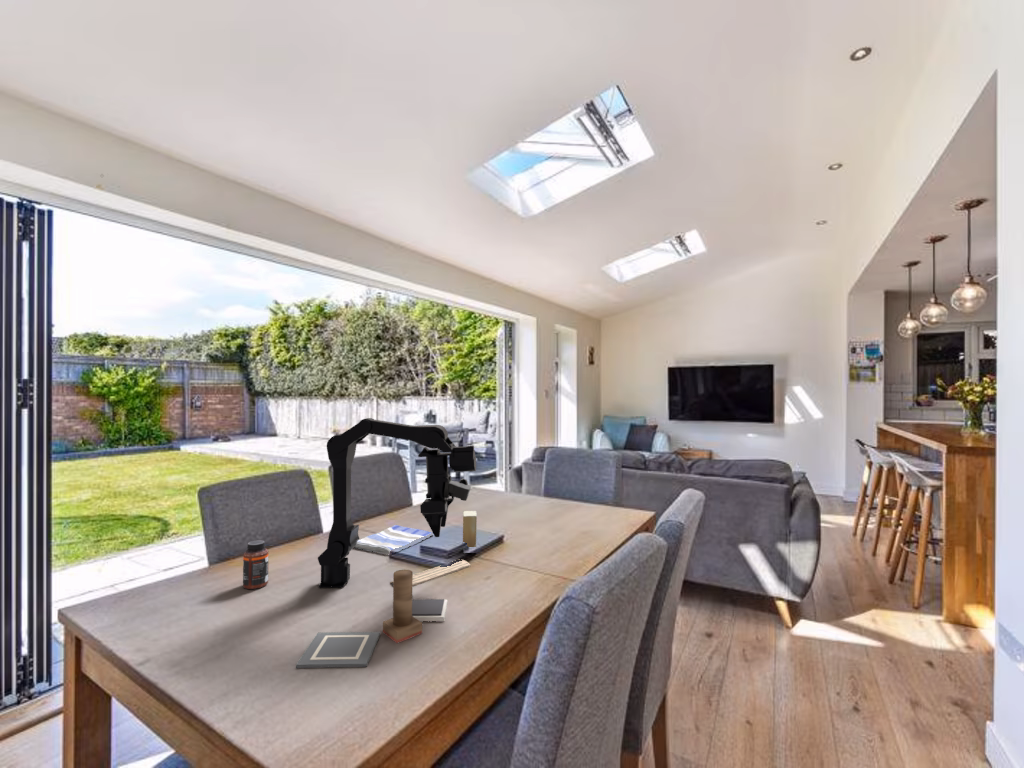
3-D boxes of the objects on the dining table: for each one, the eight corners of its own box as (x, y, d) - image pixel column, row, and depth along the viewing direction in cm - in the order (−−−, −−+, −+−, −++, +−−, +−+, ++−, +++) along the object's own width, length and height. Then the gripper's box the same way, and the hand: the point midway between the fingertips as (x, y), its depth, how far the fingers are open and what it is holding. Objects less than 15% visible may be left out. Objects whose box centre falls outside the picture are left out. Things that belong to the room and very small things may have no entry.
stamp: (382, 632, 106) (383, 572, 106) (407, 623, 110) (408, 565, 110) (397, 643, 101) (397, 580, 101) (421, 633, 105) (422, 573, 105)
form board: (296, 667, 92) (296, 664, 92) (318, 635, 104) (318, 632, 104) (366, 666, 93) (366, 663, 93) (380, 634, 104) (380, 631, 104)
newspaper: (402, 592, 127) (402, 585, 127) (387, 585, 132) (387, 578, 132) (470, 568, 145) (470, 562, 145) (455, 562, 149) (455, 556, 149)
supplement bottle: (273, 583, 130) (274, 540, 131) (253, 591, 125) (253, 547, 125) (257, 579, 133) (258, 537, 133) (237, 587, 128) (238, 543, 128)
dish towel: (348, 549, 160) (348, 540, 160) (396, 530, 181) (396, 523, 181) (389, 558, 152) (389, 549, 152) (435, 537, 173) (435, 529, 173)
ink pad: (403, 621, 110) (403, 615, 110) (410, 604, 119) (410, 598, 119) (444, 621, 111) (444, 615, 111) (447, 603, 120) (447, 597, 120)
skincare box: (462, 547, 161) (463, 510, 161) (476, 547, 161) (476, 510, 161) (462, 554, 154) (462, 515, 154) (476, 554, 155) (476, 515, 155)
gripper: (463, 478, 121) (466, 541, 121) (471, 465, 140) (474, 520, 140) (418, 480, 121) (421, 543, 121) (432, 467, 140) (434, 522, 140)
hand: (440, 531), depth 131 cm, fingers open, 9 cm apart
